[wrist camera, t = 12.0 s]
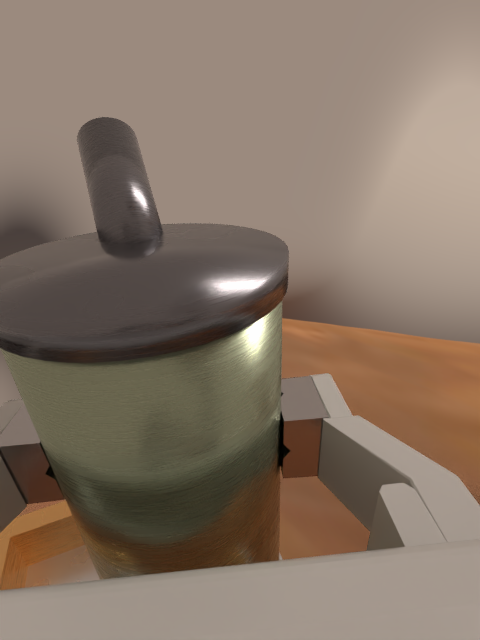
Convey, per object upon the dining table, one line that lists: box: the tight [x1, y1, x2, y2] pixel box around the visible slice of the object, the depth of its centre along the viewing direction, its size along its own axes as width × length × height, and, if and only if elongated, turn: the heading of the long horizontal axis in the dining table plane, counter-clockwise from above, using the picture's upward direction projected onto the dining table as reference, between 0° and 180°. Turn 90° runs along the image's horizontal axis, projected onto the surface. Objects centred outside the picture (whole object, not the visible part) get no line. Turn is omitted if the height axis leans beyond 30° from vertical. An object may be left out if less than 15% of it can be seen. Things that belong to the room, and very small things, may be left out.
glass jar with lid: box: [0, 117, 289, 580], centre depth 8 cm, size 5×7×12 cm
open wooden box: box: [0, 501, 283, 590], centre depth 16 cm, size 14×15×8 cm
